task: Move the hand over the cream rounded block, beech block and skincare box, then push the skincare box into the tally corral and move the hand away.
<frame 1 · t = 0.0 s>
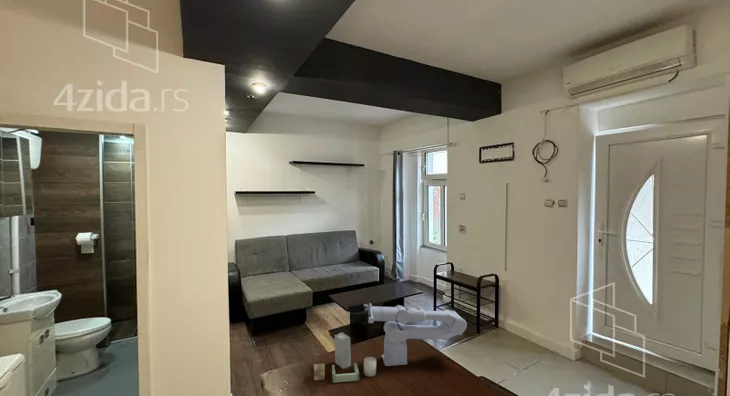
hand: (348, 312, 126), 22 cm above the table, tool horizontal, fingers open, 7 cm apart
cream rounded block: (369, 372, 121), on the table
tally corral: (345, 376, 118), on the table
beech block: (319, 376, 117), on the table
skincare box: (342, 364, 126), on the table
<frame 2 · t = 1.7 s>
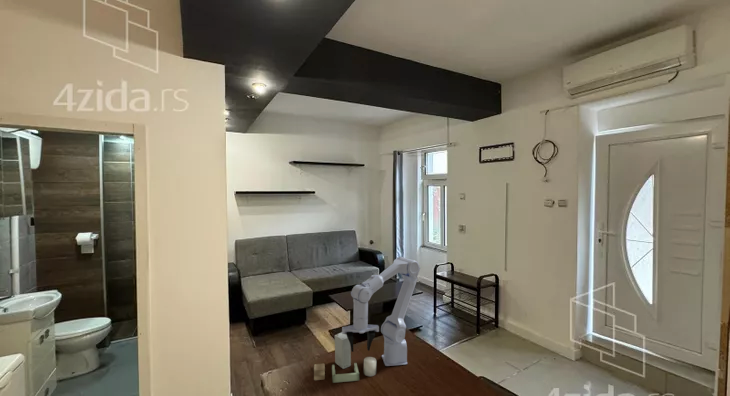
hand: (360, 349, 120), 9 cm above the table, tool pointing down, fingers open, 6 cm apart
nothing on the table moved.
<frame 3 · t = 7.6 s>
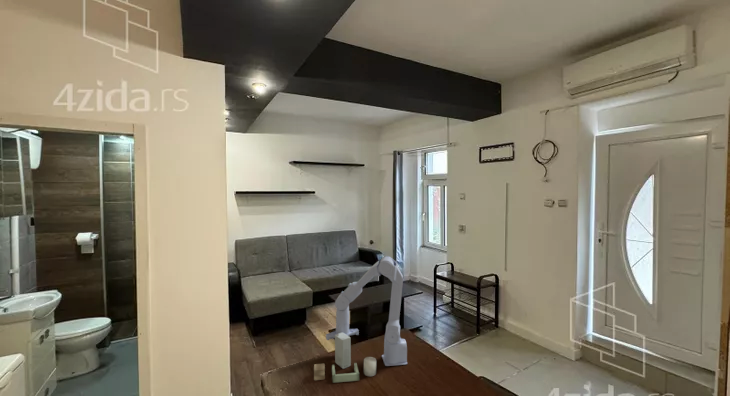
hand: (342, 352, 132), 1 cm above the table, tool pointing down, fingers closed
skincare box: (342, 364, 126), on the table, touching gripper
everything else where it was.
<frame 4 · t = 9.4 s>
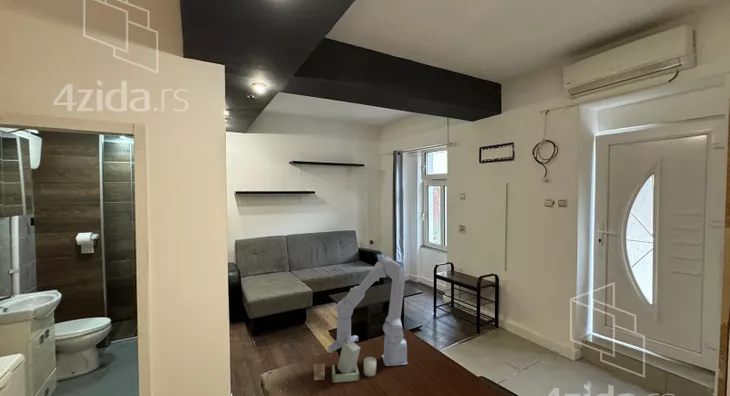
hand: (343, 363, 124), 2 cm above the table, tool pointing down, fingers closed
skincare box: (345, 371, 120), point 1 cm above the table, touching gripper, tally corral
everything else where it was.
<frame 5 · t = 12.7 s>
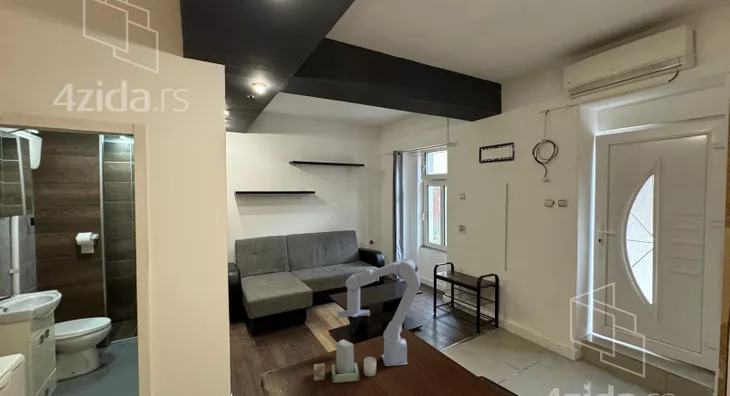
hand: (353, 332, 134), 9 cm above the table, tool pointing down, fingers closed
skincare box: (344, 373, 120), on the table
everything else where it was.
at the end: skincare box 1.0 cm from the target spot, on the table; skincare box tilted 0°; the gripper is holding nothing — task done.
